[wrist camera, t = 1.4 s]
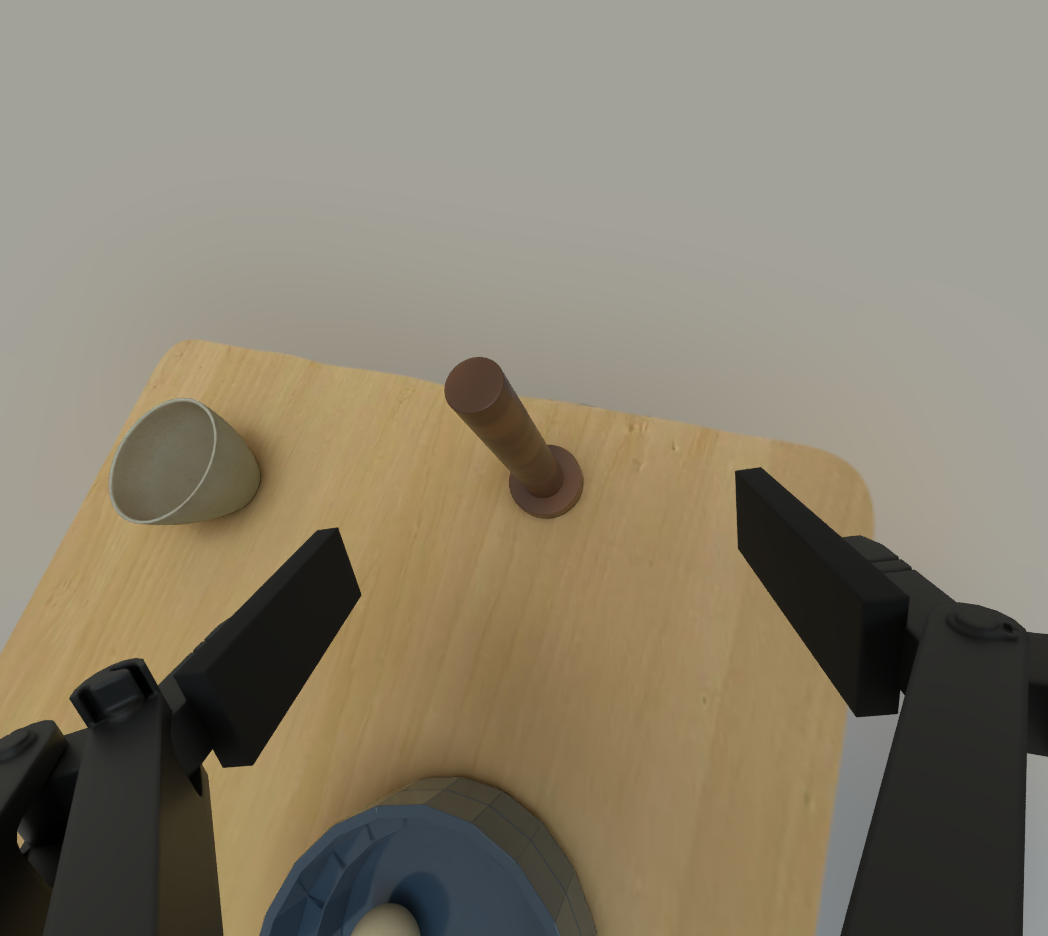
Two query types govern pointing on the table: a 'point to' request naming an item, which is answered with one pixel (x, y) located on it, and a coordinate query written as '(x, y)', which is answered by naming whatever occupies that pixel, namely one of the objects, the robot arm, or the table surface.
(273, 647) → the robot arm
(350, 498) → the table surface
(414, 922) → the dough ball
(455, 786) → the bowl
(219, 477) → the flower pot
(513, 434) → the wooden peg stand
